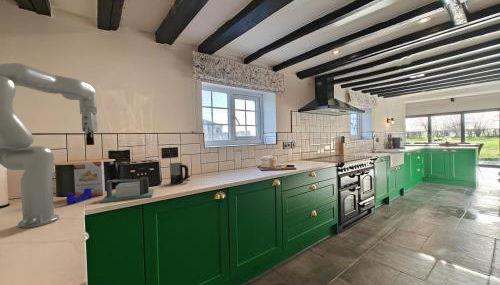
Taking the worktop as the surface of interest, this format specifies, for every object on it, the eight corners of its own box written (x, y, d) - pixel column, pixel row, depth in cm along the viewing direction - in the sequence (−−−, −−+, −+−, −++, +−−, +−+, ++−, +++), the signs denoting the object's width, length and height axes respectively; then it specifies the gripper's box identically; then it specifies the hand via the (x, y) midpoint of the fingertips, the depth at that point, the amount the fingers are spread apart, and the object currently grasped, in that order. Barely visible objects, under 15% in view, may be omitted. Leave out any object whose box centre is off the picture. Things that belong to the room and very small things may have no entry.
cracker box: (75, 198, 132) (73, 163, 132) (78, 196, 138) (76, 162, 137) (103, 195, 137) (101, 161, 137) (105, 193, 143) (103, 160, 142)
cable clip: (84, 198, 132) (84, 188, 132) (91, 198, 132) (90, 188, 131) (64, 204, 121) (64, 193, 120) (71, 204, 120) (71, 193, 120)
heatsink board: (151, 197, 129) (150, 179, 129) (100, 203, 120) (99, 184, 120) (153, 190, 146) (152, 174, 146) (109, 195, 137) (108, 178, 137)
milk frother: (169, 184, 164) (168, 164, 164) (172, 180, 179) (171, 161, 179) (189, 183, 167) (188, 162, 166) (190, 179, 182) (190, 160, 182)
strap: (144, 180, 137) (144, 179, 137) (143, 181, 134) (143, 179, 134) (113, 181, 132) (113, 179, 132) (112, 182, 129) (112, 180, 129)
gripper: (92, 109, 117) (94, 144, 117) (100, 112, 131) (102, 144, 131) (74, 109, 114) (76, 145, 115) (85, 112, 128) (86, 145, 129)
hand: (90, 144), depth 123 cm, fingers closed
